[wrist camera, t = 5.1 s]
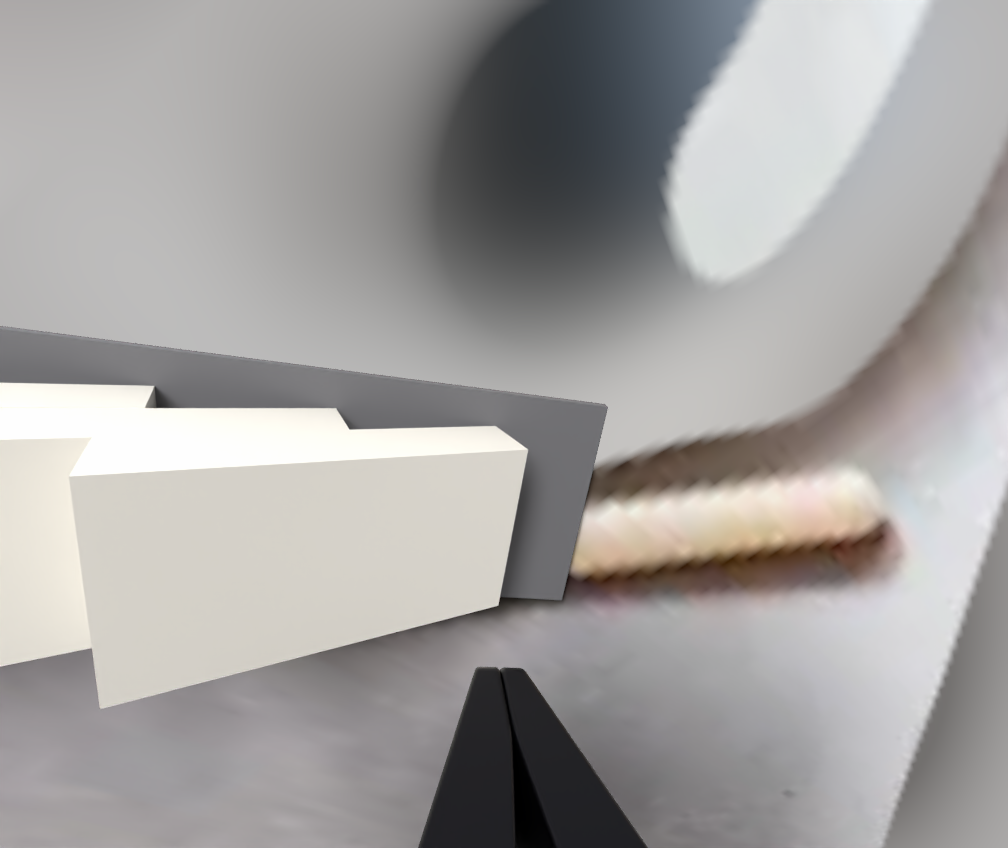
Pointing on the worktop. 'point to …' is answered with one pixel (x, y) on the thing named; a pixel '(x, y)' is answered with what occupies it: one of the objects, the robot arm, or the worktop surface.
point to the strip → (359, 422)
